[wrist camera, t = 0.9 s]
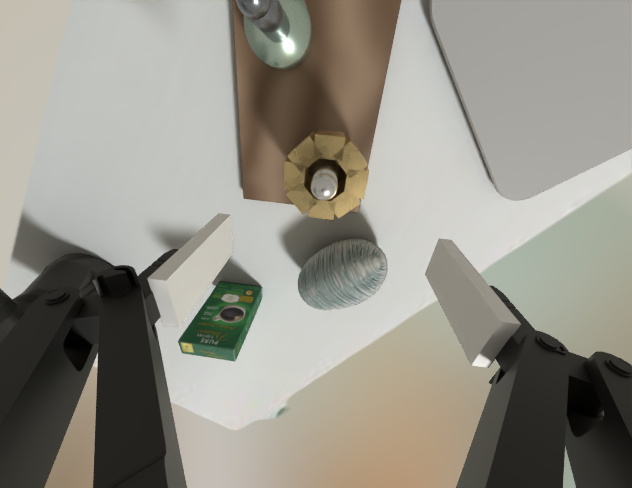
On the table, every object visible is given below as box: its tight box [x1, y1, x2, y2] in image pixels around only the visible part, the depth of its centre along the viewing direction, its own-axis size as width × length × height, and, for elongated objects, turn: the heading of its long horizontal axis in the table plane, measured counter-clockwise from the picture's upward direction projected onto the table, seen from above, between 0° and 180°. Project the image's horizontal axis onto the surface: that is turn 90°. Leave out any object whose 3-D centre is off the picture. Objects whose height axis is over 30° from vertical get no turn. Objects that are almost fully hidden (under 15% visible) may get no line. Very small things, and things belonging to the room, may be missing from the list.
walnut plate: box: [233, 0, 401, 212], centre depth 28 cm, size 16×24×2 cm, turn 174°
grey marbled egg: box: [298, 239, 387, 310], centre depth 36 cm, size 14×10×10 cm
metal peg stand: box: [236, 0, 313, 71], centre depth 20 cm, size 6×6×11 cm
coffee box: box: [178, 281, 262, 361], centre depth 38 cm, size 8×3×13 cm, turn 84°
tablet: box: [429, 0, 632, 201], centre depth 25 cm, size 16×26×2 cm, turn 36°
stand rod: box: [309, 158, 344, 200], centre depth 25 cm, size 6×6×11 cm
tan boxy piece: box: [284, 129, 369, 220], centre depth 26 cm, size 8×8×5 cm
